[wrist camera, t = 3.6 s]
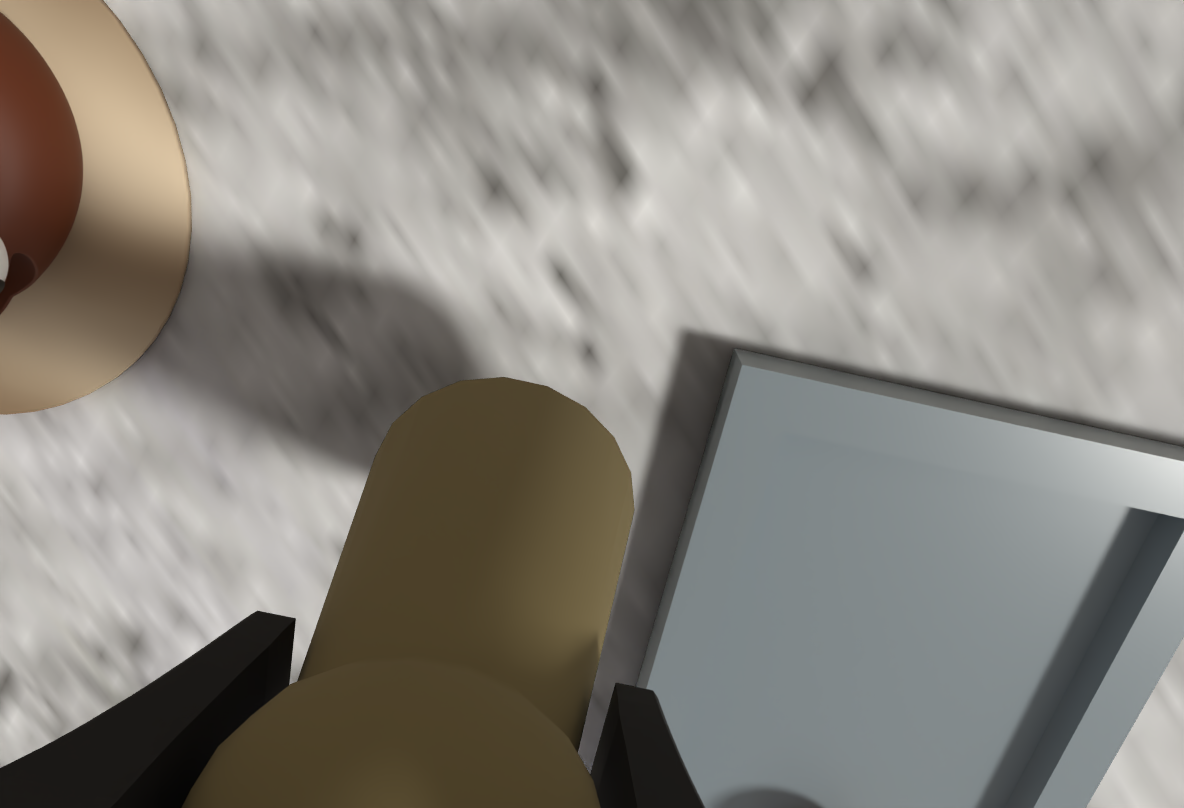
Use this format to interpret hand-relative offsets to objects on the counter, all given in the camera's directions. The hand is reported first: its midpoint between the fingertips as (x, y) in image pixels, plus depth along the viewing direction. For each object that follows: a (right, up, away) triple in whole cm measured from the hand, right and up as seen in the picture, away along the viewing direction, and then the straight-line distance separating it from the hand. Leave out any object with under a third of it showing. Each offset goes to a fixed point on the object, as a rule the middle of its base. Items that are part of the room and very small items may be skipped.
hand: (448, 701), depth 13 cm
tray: (+11, -4, +12) cm, 17 cm away
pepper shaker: (0, +3, +6) cm, 6 cm away
